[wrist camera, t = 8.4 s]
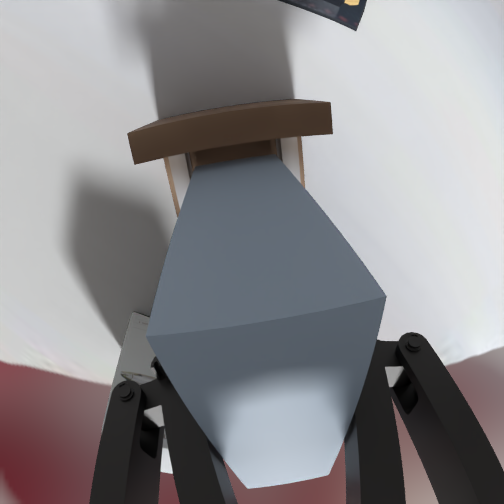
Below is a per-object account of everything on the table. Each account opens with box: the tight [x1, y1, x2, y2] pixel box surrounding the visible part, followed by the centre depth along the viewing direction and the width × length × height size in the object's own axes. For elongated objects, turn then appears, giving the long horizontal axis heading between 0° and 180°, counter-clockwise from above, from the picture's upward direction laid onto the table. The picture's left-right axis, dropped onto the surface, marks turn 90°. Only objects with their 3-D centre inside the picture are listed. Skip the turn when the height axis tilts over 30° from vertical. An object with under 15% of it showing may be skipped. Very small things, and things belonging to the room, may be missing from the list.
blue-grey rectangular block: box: [146, 154, 386, 489], centre depth 12 cm, size 12×4×11 cm, turn 7°
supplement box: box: [102, 312, 173, 474], centre depth 22 cm, size 7×7×13 cm
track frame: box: [127, 99, 333, 217], centre depth 18 cm, size 17×9×7 cm, turn 7°
